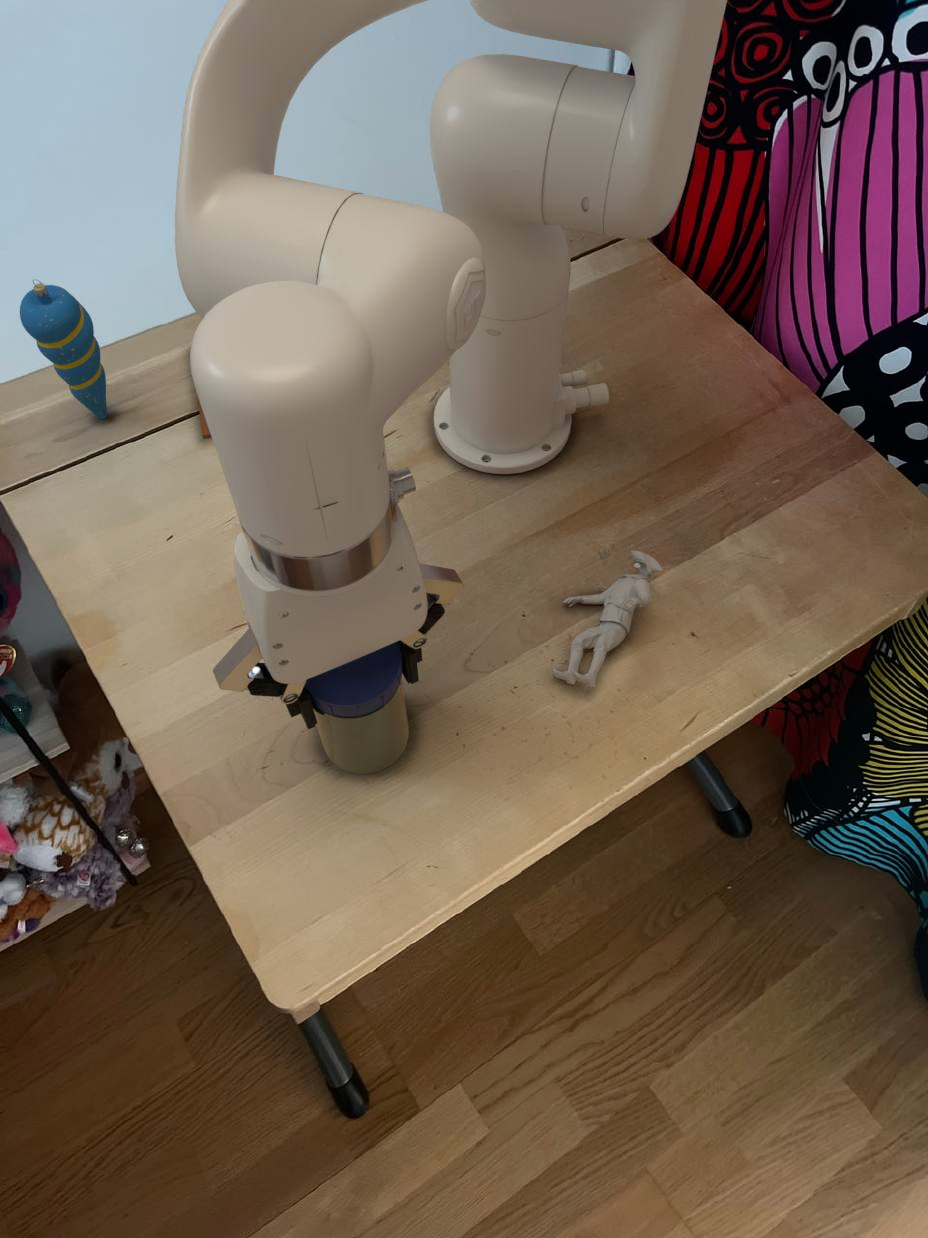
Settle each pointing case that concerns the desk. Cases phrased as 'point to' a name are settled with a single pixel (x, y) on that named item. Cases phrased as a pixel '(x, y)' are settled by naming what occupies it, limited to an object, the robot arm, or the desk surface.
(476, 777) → the desk surface
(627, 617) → the soldier figure
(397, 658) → the jar lid
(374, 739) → the jar
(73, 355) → the ornament
